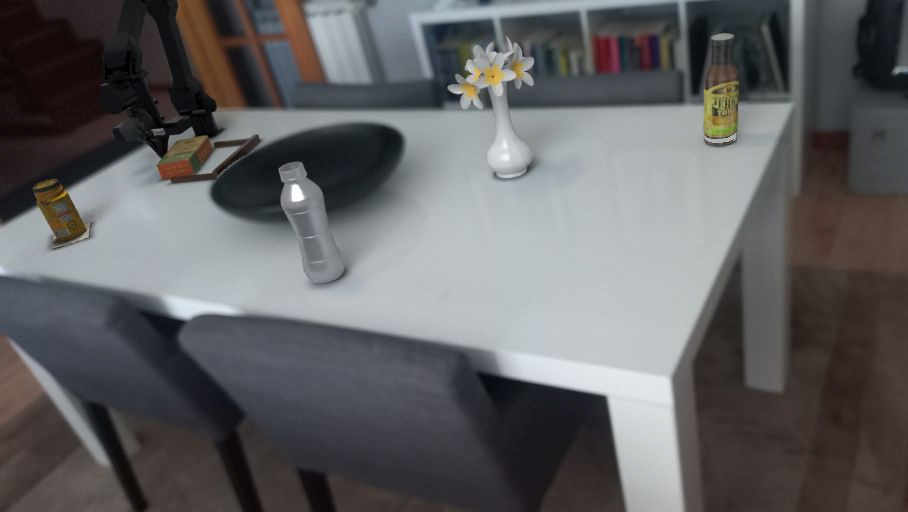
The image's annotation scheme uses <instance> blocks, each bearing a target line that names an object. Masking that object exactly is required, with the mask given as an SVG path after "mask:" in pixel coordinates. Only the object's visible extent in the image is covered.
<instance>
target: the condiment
mask: <svg viewBox="0 0 908 512" xmlns="http://www.w3.org/2000/svg"><path fill="white" fill-rule="evenodd" d="M31 191H32V193H33V194H34V197H35V199H36V205H37V206H38V208H39V210H40V212H41V214H42V215H43V217H44V219H45V220H46V222H47V224H48V225H49V227H50V230H51V232H52V233H53V238H52V242H51V243H52V244H51V247H50V249H55V248H59V247H64V246H67V245H71V244H75V243H76V242H78V241H83V240H84V239H88V238H89V237H90V227H91V226H90V224H91V223H90V222H88V223H84V221H83V219H82V217H81V215H80V213H79V210H78V209H77V207H76V206H75V204H74V201H73V200H72V198H71V196H70V194H69V192H68V191H67V190H65V189H64V186H63V185H62V184H61V182H60V180H59V179H57V178H50V179H46V180H43V181H40V182H39V183H36V184H35V185H34V186H33V187H32V188H31Z"/></svg>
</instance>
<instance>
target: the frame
mask: <svg viewBox="0 0 908 512" xmlns="http://www.w3.org/2000/svg"><path fill="white" fill-rule="evenodd" d="M260 143H261V139H260V136H259V134H258V133H257V134H252V135H251V137H248V138H238V139H229V140H220V141H215V142H213V146H214V149H216V148H227V147H235V146H239V147H238V148H237V149H236V150H235V151H233V152H232V153H231V154H229V156H228V157H227V158H225V160H223V161H222V162H221V163H219V164H218V166H216V167H215V168H214V169H213V170H212V171H211V172H207V173H199V174H192V175H187V176H176V177H172V178H169V180H170V182H171V184H180V183H191V182H192V183H193V182H200V181H212V180H217V179H216V177H217V176H218V175H219V174H220V173H221V172H222V171H223V170H224V169H226V168H227V167H228V166H229V165H231V164H232V163H233V162H235V161H236V160H238V159H239V158H241V157H242V156H244V155H245V156H246V155H248V154H249V153H250V152H251V151H252V150H254V148H255V147H256V146H257V145H259V144H260ZM245 156H244V157H245Z"/></svg>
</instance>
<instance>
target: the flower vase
mask: <svg viewBox="0 0 908 512" xmlns="http://www.w3.org/2000/svg"><path fill="white" fill-rule="evenodd" d="M505 37H506V42H507V46H508V50H509V51H507V52H505V53H503V52H496V51H494V50H495V42H494V41H492V42H490V43H489V44H488V46H487V47H486V49H485V51H484V49H483V48H482V47H481V46H480V45H479V44H475V45H474V46H473V48H472V52H473V56H474V58H473V59H467V60H466V65H465V66H464V71H466V72H469V73H471V74H470V75H468V76H467V77H466V78H464V77H463V76H462V75H461V74H459V73H456V74H455V76H454V77H455V81H456V82H457V83H458V84H449V85H448V86H447V90H448V91H449V92H450V93H452V94H456V95H461V97H460V107H461V108H462V109H463V110H467V109H469V107H470V106H471V103H473V105H474V106H475V107H476V108H477V109H479V110H483V109H484V106H483V103H482V101H481V99H480V96H479V94H480V92H481V90H482V89H485V88H487V91H488V95H489V97H490V101H491V105H492V106H491V107H492V113H493V119H494V135H493V136H494V137H493V141H492V143H491V144H490V146H488V148H487V151H486V153H485V163H486V166H487V167H488V168H489V169H490V170H491V171H493V172H495V174H496V176H497V177H498V178H501V179H515V178H518V177H521V176H523V175H524V174H525V173H527V171H528V166H529V165H530V163H532V160H533V158H534V157H533V156H534V152H533V149H532V147H531V146H530V145H529V143H528V142H527V141H526V140H524V139H523V138H521V137H520V136H519V134H518V133H517V131H516V129H515V127H514V124H513V121H512V117H511V112H510V107H509V103H508V102H509V101H508V94H507V93H508V91H507V90H508V88H507V87H508V86H507V83H508V82H510V81H514V85H515V88H516V89H517V90H520V89H521V87H522V86H523V85H522V82H523V83H525V84H526V85H528V86H530V87H533V86H534V85H535V81H534V79H533V77H532V75H531V74H530V73H529V72H527V71H529V70H530V69H532V68H533V66H534V64H535V59H534V57H532V56H528V57H526V56H523V51H522V48H521V46H520V45H519V44H518V43H517V42H514V43H513V44H512V42H511V39H510V38H509V37H508V36H507V35H506V36H505ZM505 66H507V68H508V69H507V68H505V69H503V68H504V67H505Z"/></svg>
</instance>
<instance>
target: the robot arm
mask: <svg viewBox="0 0 908 512" xmlns="http://www.w3.org/2000/svg"><path fill="white" fill-rule="evenodd" d="M178 9H179V2H178V0H123V2H122V6H121V12H120V15H119V20H118V24H117V28H116V32H115V35H114V36H113V37H112V38H111V39H110V40H109V41H108V42H107V43H106V45H105V47H104V50H103V52H102V82H103V83H102V84H100V85H99V88H100V90H101V91H100V92H99V94H98V104H99V106H100V108H101V109H102V111H104V112H105V113H107V114H109V115H113V116H117V115H120V114H121V113H122V112H126V115H127V118H126V119H125V120H124V121H122V122H120V123H119V124H118V125H116V126H114V127H113V128H112V131H111V134H112V136H113V139H114V141H122V140H126V141H127V142H131V141H137V142H142V143H143V144H146V145H147V146H149V147H150V148H151V149H152V150H153V152H154V153H155V154H156V155H157V156H158V157H159V158H160V160H161V159H162V158H163V157H164V155H165V154H166V153H167V152H168V151H169V142H170V141H169V140H170V137H171V136H179V135H183V134H184V133H185V132H186V131H188V130H189V129H190V128H192V131H193V133H194V135H193V136H192V137H191V138H194V137H199V136H208V138H209V139H211V138H214V137H215V136H217V135H218V134H219V133H220V132H222V131H223V130H224V127H218V125H217V122H216V120H215V117H214V114H213V113H216V111H217V110H218V106H217V101H216V100H215V99H214V98H213V97H211V96H210V95H208V94H207V93H206V92H205V89H204V86H203V84H202V83H201V82H200V81H199V80H198V79H197V78H196V77H195V76H194V75H193V73H192V70H191V69H192V68H191V66H190V62H189V59H188V56H187V55H188V54H187V52H186V49H185V45H184V42H183V39H182V35H181V32H180V29H179V25H178V22H177V19H176V17H177V13H178ZM146 14H147V15H149V17H150V18H151V19H152V20H153V21H154V23H155V27H156V29H157V32H158V36H159V39H160V42H161V45H162V48H163V49H162V50H163V52H164V55H165V59H166V61H167V64H168V68H169V71H170V74H171V77H172V81H171V84H170V86H168V87H167V93H168V95H169V99H170V103H171V104H172V106H173V108H174V109H175V110H176V112H177V113H178V115H179V116H173V117H172V118H170V119H169V120H167V121H165V120H166V118H165V115H160V111H159V110H158V107H157V105H158V104H159V100H158V99H157V98H156V99H155V98H154V97H153V95H152V92H151V91H150V88H149V85H148V83H147V80H146V78H145V77H146V76H148V75H149V72H148V71H147V70H146V69H143V68H142V66H143V54H144V52H143V50H142V48H141V46H140V40H141V34H142V31H143V26H144V21H145V17H146ZM164 121H165V122H164Z"/></svg>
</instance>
